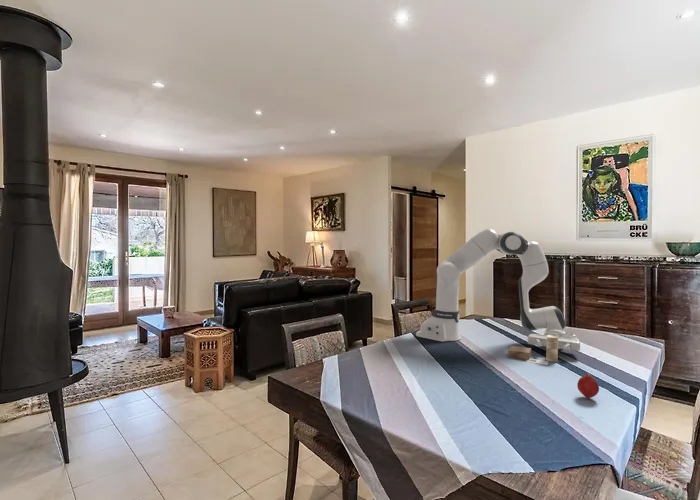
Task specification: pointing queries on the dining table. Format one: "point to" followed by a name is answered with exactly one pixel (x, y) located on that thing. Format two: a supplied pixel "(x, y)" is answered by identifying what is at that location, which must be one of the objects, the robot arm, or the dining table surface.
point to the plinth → (519, 352)
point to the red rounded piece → (588, 386)
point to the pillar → (552, 348)
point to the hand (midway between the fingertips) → (552, 346)
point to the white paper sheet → (537, 361)
